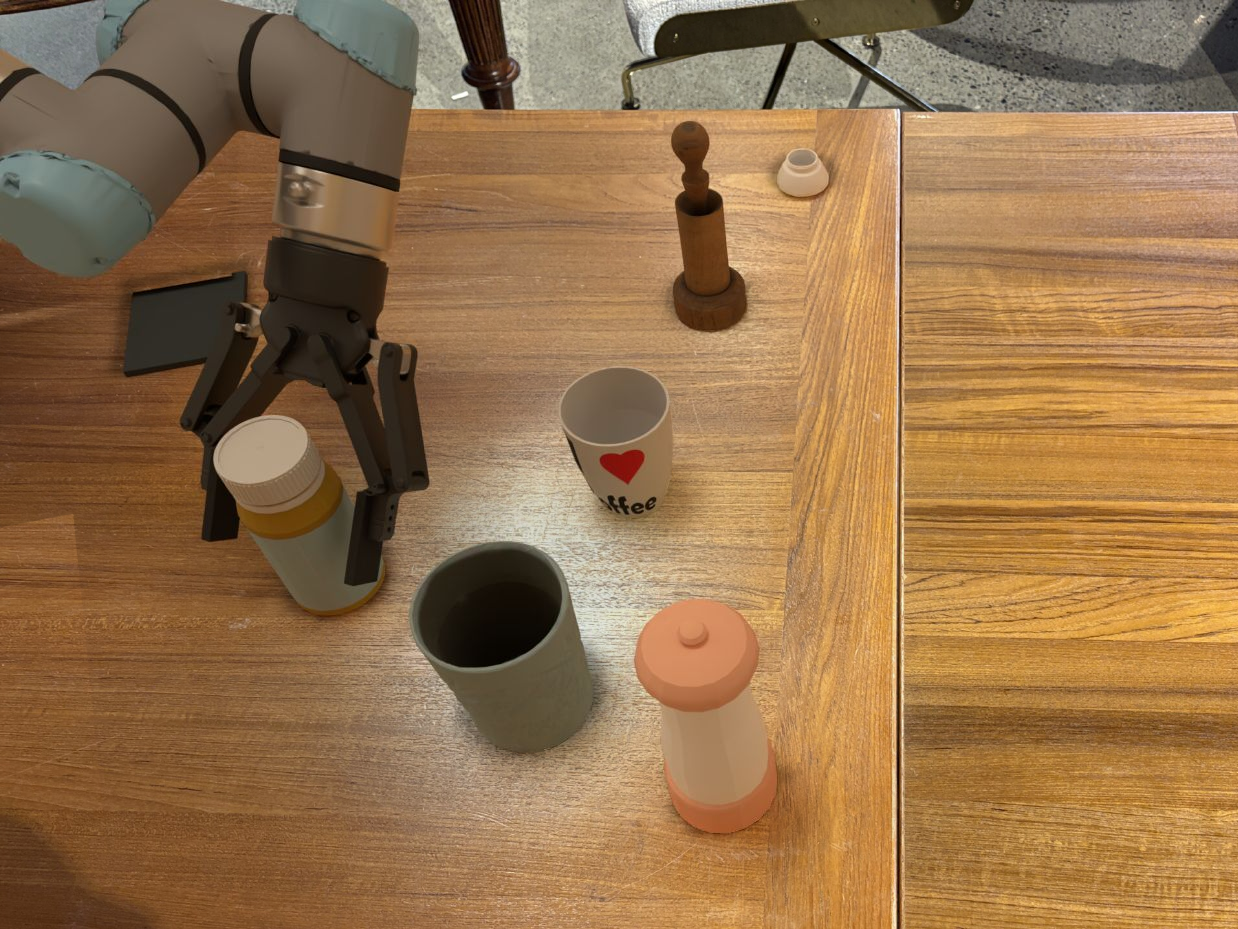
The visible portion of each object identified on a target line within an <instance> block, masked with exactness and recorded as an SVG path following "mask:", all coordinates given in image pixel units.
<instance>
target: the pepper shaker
mask: <svg viewBox="0 0 1238 929" xmlns="http://www.w3.org/2000/svg"><path fill="white" fill-rule="evenodd" d="M760 648H761V647H760V645H759V642H758V638H757V635H756V632H755V630H754V629H753V627H752V626H751V625H750V623H749V622H748V621H747V620H746V618H745V617H744V615H743V614H742V613H740V612H739V611H737V610H736V609H734V608H733V607H731V606H730V605H729V604H726V603H723V602H719V601H716V600H713V599H709V598H689V599H686V600H685V599H684V600H681V601H676V602H674V603H672V604H670V605H669V606H667V607H665V608H663V609H661V610H659V611H658V612H657V613H656V614H655V615H654V616H653V617H652V618H651V619H649V620H648V622H646V623H645V625H644V627H643V628H642V630H641V632H640V634H639V636H638V637H637V640H636V646H635V652H634V659H633V663H634V668H635V673H636V678H637V680H638V681H639V682H640V684H641V685H642V687H643V689H644V690H645V692H646V693H647V694H649V695H650V696H651V697H652V698H654V699H655V700H656V701H658V702H659V706H660V711H661V717H660V718H661V719H660V744H661V749H662V753H663V757H664V763H663V772H664V777H665V782H666V786H667V789H668V792H669V795H670V799H671V802H672V805H673V807H674V806H675V807H674V809H675V808H676V809H675V811H676V812H677V811H678V812H677V814H678V815H679V814H680V815H679V816H680V818H681V817H682V818H683V819H684V820H683V819H682V818H681V819H682V820H683V821H685V820H686V821H687V822H688V823H687V822H686V821H685V822H686V823H687V824H689V823H690V824H691V825H692V826H693V827H692V826H691V825H690V824H689V825H690V826H691V827H692V828H694V827H695V828H694V829H696V828H698V829H697V830H699V829H701V830H700V831H702V830H704V831H707V832H710V833H709V834H711V833H729V834H731V833H730V832H733V831H737V830H741V829H744V828H746V827H748V826H749V825H751V824H753V823H754V822H756V821H758V820H759V819H760V818H761V817H762V816H763V814H764V813H765V812H766V811H767V810H768V809H769V808H770V809H771V807H770V806H772V805H771V803H772V804H773V802H774V800H775V798H776V796H775V794H776V795H777V791H776V788H777V789H778V772H777V762H776V757H775V752H774V748H773V745H772V742H771V740H770V739H769V737H768V734H767V732H768V731H767V727H766V723H765V719H764V717H763V714H762V712H761V710H760V708H759V706H758V703H757V701H756V699H755V697H754V694H753V692H752V688H751V681H752V679H753V676H754V674H755V673H756V671H757V668H758V667H759V658H760ZM774 797H775V798H774ZM773 799H774V800H773ZM772 801H773V802H772ZM770 809H769V810H770ZM769 810H768V811H769ZM768 811H767V812H768ZM767 812H766V813H767ZM766 813H765V814H766ZM765 814H764V815H765ZM763 817H764V816H763ZM763 817H762V818H763ZM762 818H761V819H762ZM761 819H760V820H761ZM760 820H759V821H760ZM759 821H758V822H759ZM756 823H757V822H756ZM754 824H755V823H754ZM754 824H753V825H754ZM751 826H752V825H751ZM749 827H750V826H749ZM749 827H748V828H749ZM746 829H747V828H746ZM744 830H745V829H744ZM704 831H703V832H704ZM741 831H742V830H741ZM707 832H706V833H707ZM737 832H738V831H737ZM733 833H734V832H733Z"/></svg>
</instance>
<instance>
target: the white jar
mask: <svg viewBox="0 0 1238 929" xmlns="http://www.w3.org/2000/svg"><path fill="white" fill-rule="evenodd" d="M829 177H830V174H829V172H828V170H827V169H826V167H825V166H824V164H823V162H822V161H821V159H820V158H819V156H818V154H817V152H815V151H814V150H812V149H810V148H807V147H806V148H804V147H803V148H802V147H801V148H796V149H792V150H791V151H789V152H788V153H787V155H786V158H785V160H784V161H783V163H782V164H781V166H780V168H779V171H778V172H777V178H776V184H777V186H778V188H779V190H781V191H782V192H783V193H785V194H787V195H789V196H794V197H796V198H799V197H801V198H802V197H803V198H805V197H807V198H808V197H811V196H816V195H817V194H819V193H822V192H823V191H824V190H825V189H826V188H827V186H829V179H830V178H829Z"/></svg>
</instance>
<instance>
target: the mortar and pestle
mask: <svg viewBox="0 0 1238 929" xmlns="http://www.w3.org/2000/svg"><path fill="white" fill-rule="evenodd" d="M709 136H710V135H709V134H708V131H707V129H706V128H705V127H704V126H703V125H702V124H701V123H700V122H697V121H695V120H686V121H682V122H680V123H679V124H677V125H676V126H675V128H674V129H673V131H672V133H671V138H670V146H671V149H672V151H673V153H674V154H675V156H676V157H677V159H678V160H679V161H680V162H681V163H682V164H683V166H684V171H683V173H682V174H681V176H680V179H681V183H682V185H683V189H684V190H683V191H681V192H680V193H679V194H677V196H676V197H675V200H674V208H675V216H676V221H677V226H678V233H679V241H680V249H681V256H682V263H683V264H682V265H683V271H682V272H680V273H679V274H678V275H677V276H676V277H675V279H674V281H673V284H672V297H673V305H674V310H675V313H676V316H677V317H678V319H679V320H680V321H681V322H682V323H683V324H684V325H685V326H688V327H689V328H692V329H694V330H698V331H704V332H713V331H720V330H724V329H727V328H730V327H732V326H734V325H736V324H737V323H739V322H740V321H741V320H742V319H743V317H744V316H745V314H746V312H747V309H748V301H747V291H746V289H747V288H746V282H745V280H744V277H743V276H742V274H740V272H739V271H738V270H736V269H735V268H733V267H731V266H730V262H729V253H728V244H727V233H726V220H725V209H724V200H723V197H722V195H721V194H720V193H719V192H718V191H717V190H714V189H712V188H709V187H710V173H709V172H708V171H707V170H706V169H704V168H703V164H704V162H705V159H706V157H707V155H708V153H709V150H710V144H711V142H710V141H711V140H710V137H709Z"/></svg>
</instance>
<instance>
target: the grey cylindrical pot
mask: <svg viewBox="0 0 1238 929" xmlns="http://www.w3.org/2000/svg"><path fill="white" fill-rule="evenodd" d="M408 622H409V630H410V632H411V636H412V639H413V641H414V644H415V646H416V647H417V648H418V649H419V651H420V652H421V654H422V655H423V657H424V658H425V659H426V660H427V661H428V663H429V664H430V666H431V667H432V669H434V671H435V673H437V675H438V676H439V677H440V678H441V680H442V681H443V682H444V683H445V684H446V685H447V686H448V688H449V689H450V691H452V692H453V693H454V695H455V699H456V700H457V701H458V702H459V703H460V704H461V706H462V707H463V709H465V710H466V711H467V713H468V714H469V716H470V717H471V720H472V722H473V724H474V726H475V728H477V730H478V731H479V733H480V734H481V735H482V736H483V737H484V738H485V740H487V741H489V742H490V743H491V744H495V745H496V746H495V745H494V746H495V747H498V748H500V749H502V750H505V749H507V751H509V752H514V751H516V752H515V753H526V752H528V753H533V752H532V751H535V752H534V753H537V752H536V751H538V750H544V749H547V750H549V749H548V748H550V749H552V748H551V747H553V746H555V747H557V746H556V745H558V744H559V743H561V742H563V741H564V742H566V741H567V740H568V739H567V738H569V737H570V736H571V735H572V736H574V735H575V734H576V733H577V732H578V731H579V730H580V729H581V728H582V726H583V725H584V723H585V722H586V721H587V719H588V717H589V715H590V713H591V710H592V707H593V706H592V705H593V703H594V697H595V696H594V694H595V688H594V682H593V678H592V674H591V672H590V669H589V664H588V659H587V654H586V651H585V646H584V643H583V641H582V634H581V631H580V627H579V623H578V619H577V616H576V612H575V609H574V603H573V599H572V596H571V593H570V588H569V584H568V581H567V579H566V576H565V574H564V572H563V570H562V568H561V566H560V565H559V563H558V562H557V561H556V560H555V559H554V558H553V556H551V555H549V554H548V553H547V552H545V551H544V550H542V549H540V548H538V547H536V546H534V545H531V544H527V543H524V542H521V541H519V542H518V541H512V540H496V541H495V540H494V541H486V542H482V543H477V544H474V545H470V546H468V547H465V548H463V549H460V550H459V551H457V552H454V553H451V555H449V556H447V557H445V558H444V559H443V560H441V561H440V562H439V563H438V564H436V565H435V566H434V567H433V568H432V569H430V570H429V572H427V574H426V575H424V577H423V579H422V580H421V581H420V582H419V584H418V586H417V588H416V589H415V591H414V594H413V596H412V598H411V603H410V607H409V612H408ZM592 702H593V703H592ZM589 712H590V713H589ZM588 714H589V715H588ZM587 716H588V717H587ZM586 718H587V719H586ZM584 721H585V722H584ZM582 724H583V725H582ZM581 725H582V726H581ZM580 727H581V728H580ZM579 728H580V729H579ZM578 729H579V730H578ZM577 730H578V731H577ZM576 731H577V732H576ZM575 732H576V733H575ZM574 733H575V734H574ZM573 734H574V735H573ZM572 736H571V737H572ZM571 737H570V738H571ZM570 738H569V739H570ZM566 739H567V740H566ZM565 740H566V741H565ZM564 742H563V743H564ZM561 744H562V743H561ZM559 745H560V744H559ZM559 745H558V746H559ZM553 748H554V747H553ZM544 751H545V750H544ZM538 752H539V751H538Z"/></svg>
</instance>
